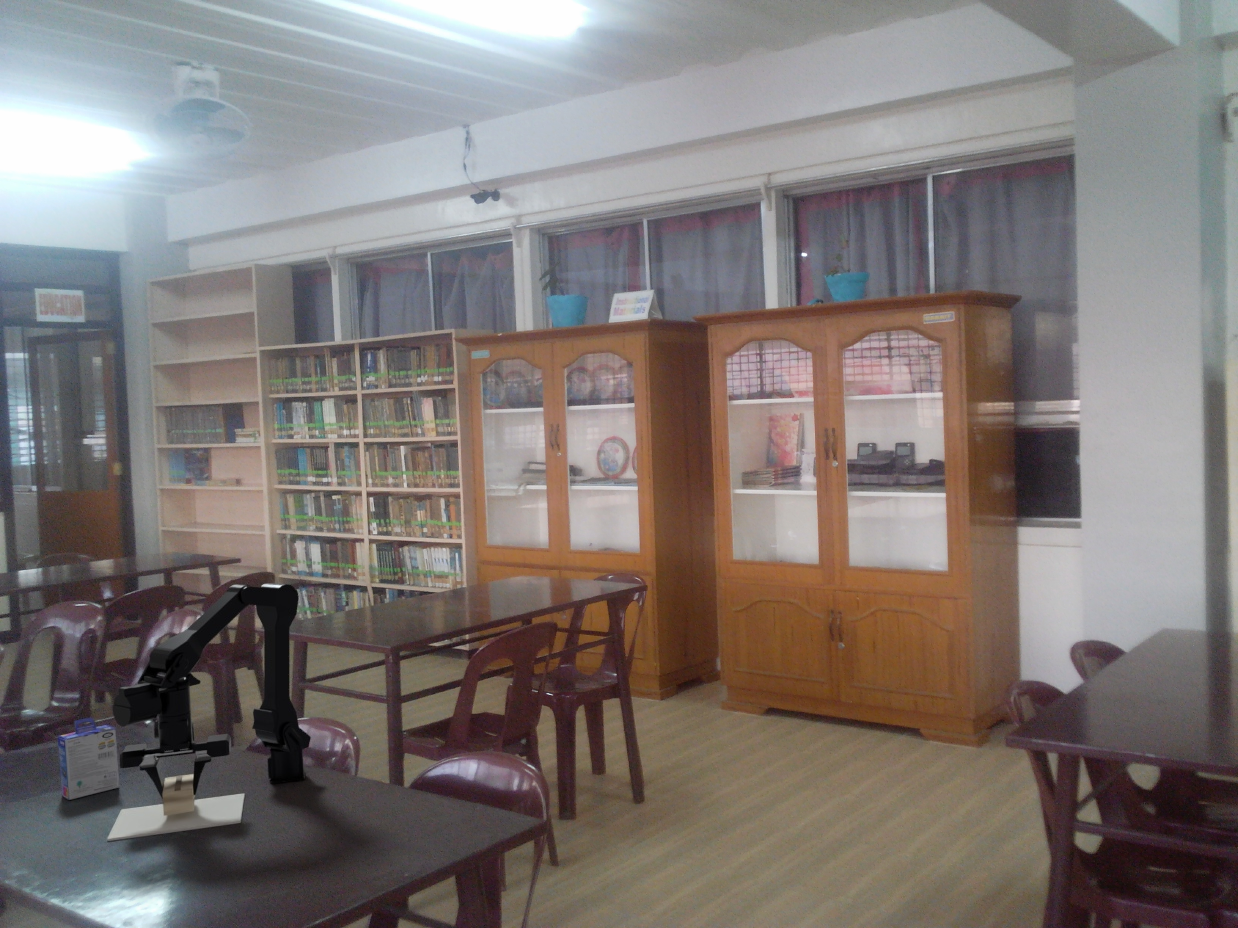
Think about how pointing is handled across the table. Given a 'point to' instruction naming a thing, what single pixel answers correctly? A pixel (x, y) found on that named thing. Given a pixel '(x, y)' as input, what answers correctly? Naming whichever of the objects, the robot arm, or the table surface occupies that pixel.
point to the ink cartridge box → (88, 760)
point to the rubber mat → (177, 817)
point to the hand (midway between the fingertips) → (179, 796)
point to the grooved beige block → (178, 794)
